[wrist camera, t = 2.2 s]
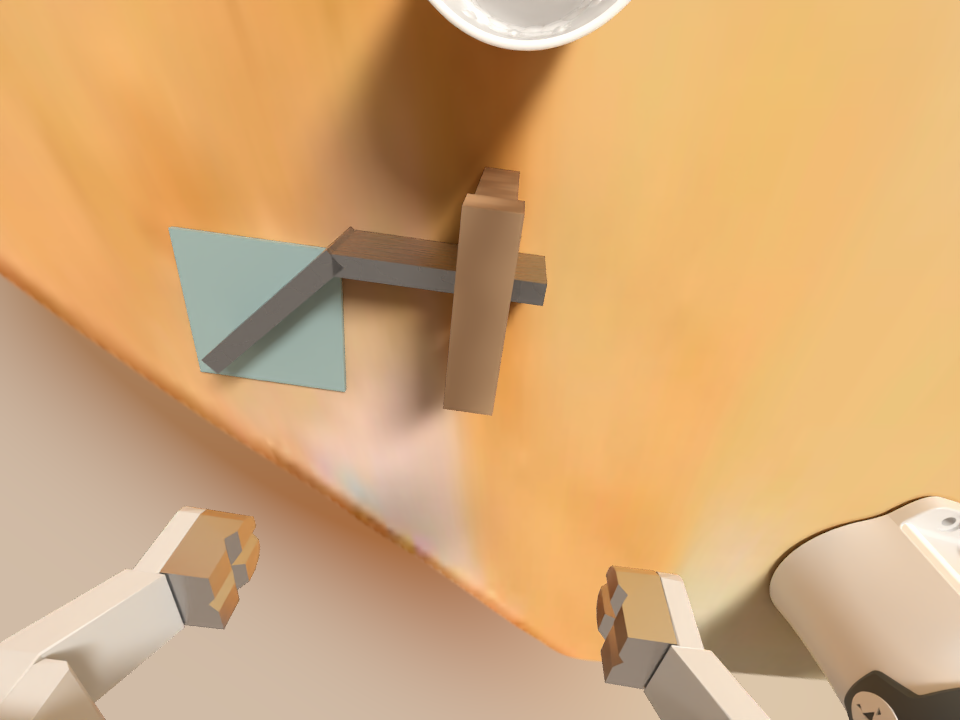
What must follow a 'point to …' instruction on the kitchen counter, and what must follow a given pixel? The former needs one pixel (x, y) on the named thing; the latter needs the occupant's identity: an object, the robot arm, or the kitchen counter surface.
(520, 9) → the white cup
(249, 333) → the rail
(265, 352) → the pad
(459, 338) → the arch
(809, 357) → the kitchen counter surface
